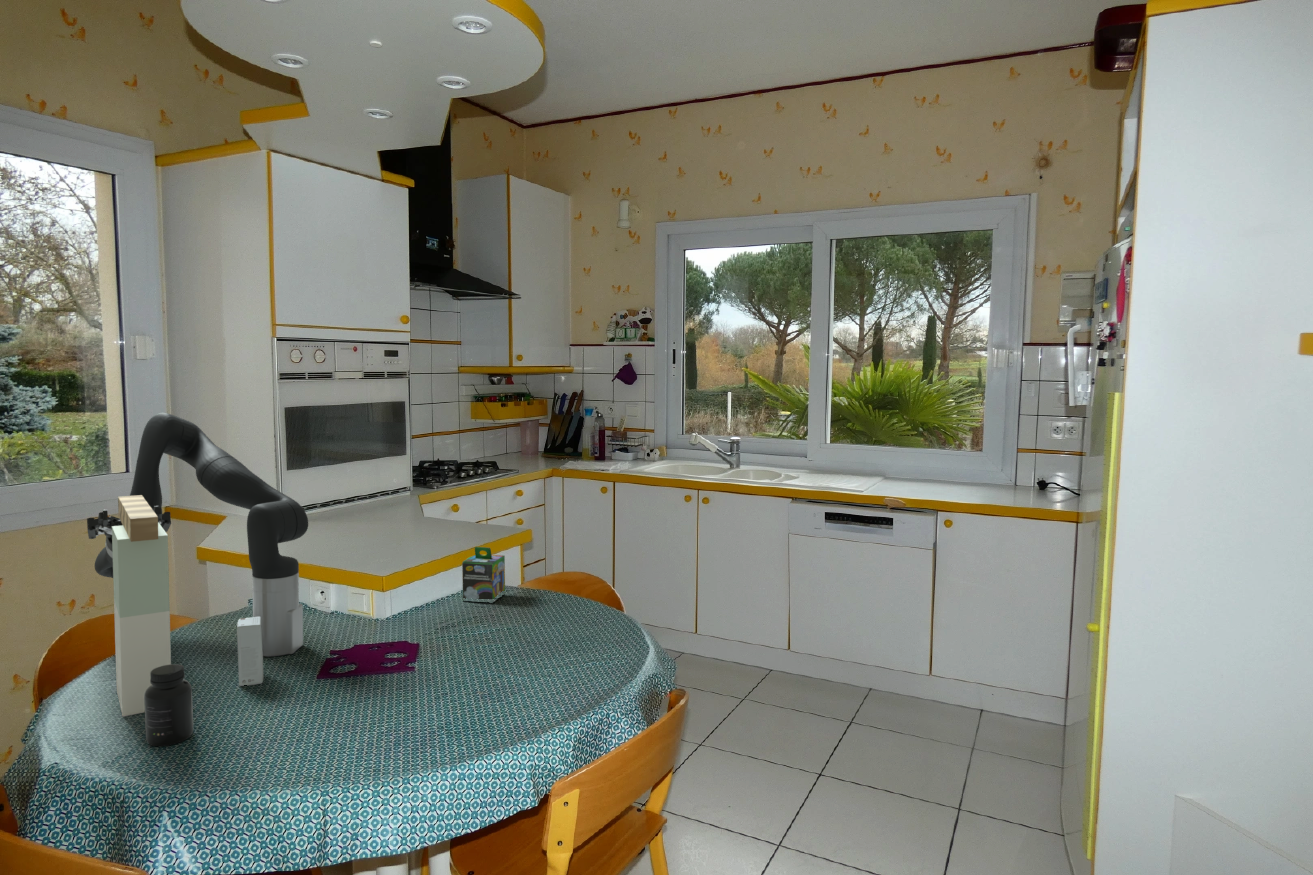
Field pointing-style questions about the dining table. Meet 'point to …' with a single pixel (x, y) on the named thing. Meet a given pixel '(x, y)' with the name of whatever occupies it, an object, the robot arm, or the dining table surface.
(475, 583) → the chalk box
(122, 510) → the beam
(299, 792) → the dining table surface
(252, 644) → the skincare box
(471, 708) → the dining table surface
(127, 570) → the tower
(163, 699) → the supplement bottle
